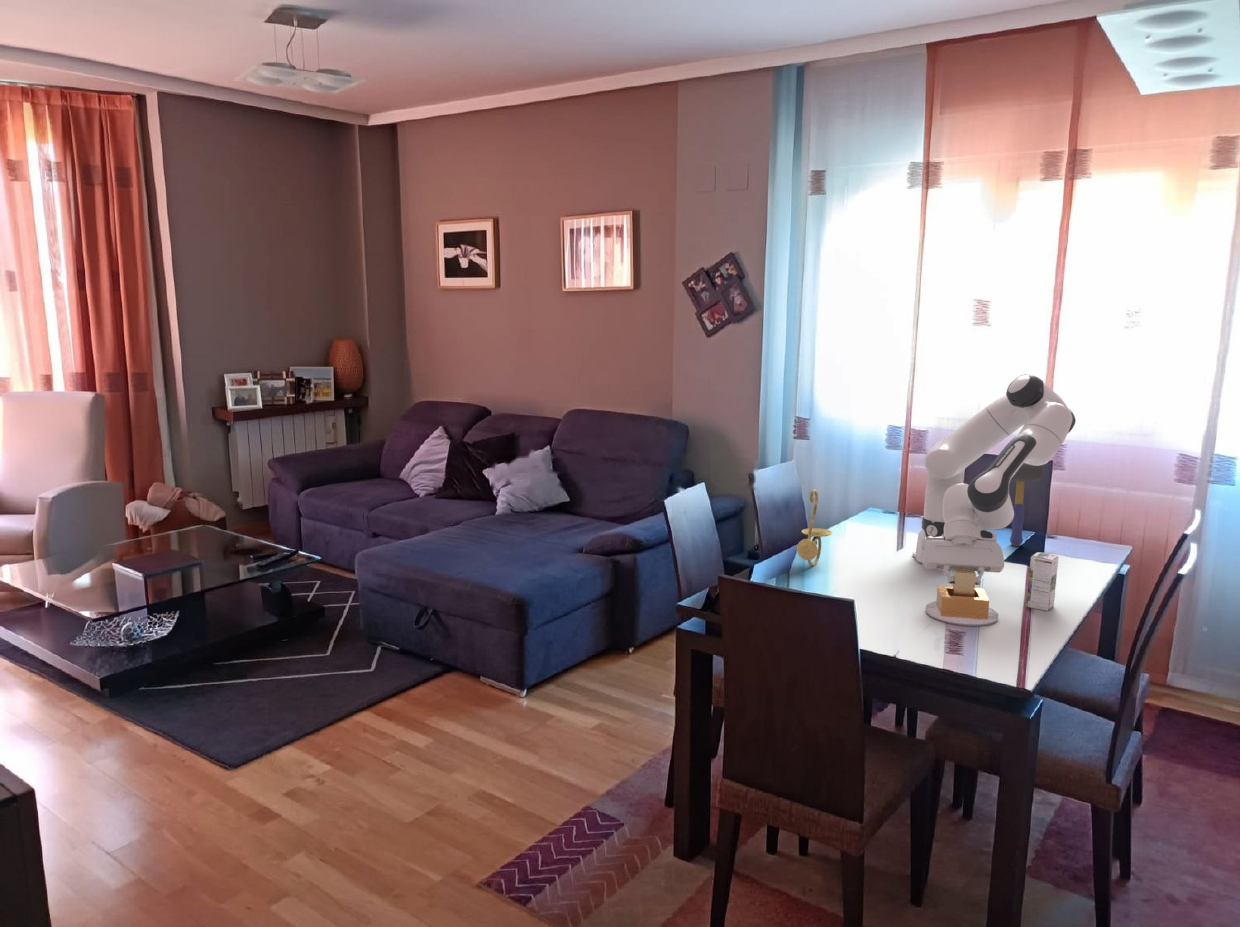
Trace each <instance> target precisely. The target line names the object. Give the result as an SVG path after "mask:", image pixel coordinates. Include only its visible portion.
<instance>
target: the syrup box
mask: <svg viewBox="0 0 1240 927" xmlns="http://www.w3.org/2000/svg"><path fill="white" fill-rule="evenodd" d="M1059 558H1060V556H1059V555H1057V554H1052V553H1047V552H1040V551H1039V552H1036V553H1034V554H1032V555H1031V556H1030V563H1029V571H1028V572H1029V575H1028V582H1027V583H1028V584H1027V592H1026V593H1027V594H1026V595H1027V596H1026V604H1025V605H1026V608H1030V609H1034V610H1035V609H1036V610H1040V611H1047V612H1048V611H1050V610H1051V609H1052V608H1053V607H1054V606H1055V596H1056V595H1055V594H1056V587H1057V578H1058V577H1057V575H1058V567H1059V565H1058V564H1059Z"/></svg>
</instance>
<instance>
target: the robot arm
mask: <svg viewBox="0 0 1240 927" xmlns="http://www.w3.org/2000/svg"><path fill="white" fill-rule="evenodd" d="M1005 393H1006V394H1004V395H1003V396H1001V397H999V398H997V399H996V400H994V401H993V402H991V403H990V404H988V405H987V406H985V407H984V408H983V409H981V410H980V411H979V412H977V413H976V414H975V415H973V416H972V417H971V418H969V419H968V420H967V421H965V422H964V423H962V424H961V425H960V426H959V427H958V428H956V429H955V430H953V431H952V432H951V433H950V434H948V435H947V436H946V437H944V438H943V439H941V440H939V441H937V442H936V443H934V445H932V447H930V449H928V451H927V453H926V455H925V457H924V468H926V472H927V478H926V485H925V493H924V506H923V507H924V508H923V516H922V519H921V529H922V530H920V531H919V532H918V534H917V541H916V548H915V551H914V552H912V554H911V555H912V557H913V558H915V561H917V562H918V563H919V564H922V566H923V567H924V568H925V569H928V570H929V569H931V570H942V573H943V574H944V576H945V578H946V579H947V583H948V584H951V585H953V584H954V582H955V579H954V575H953V574H951V573H950V571H954V569H966V570H974V571H975V572H976V574H977V576H976V580H975V586H980V585H981V582H982V581H981V579H982V577H983V576H984V574H985V573H997V574H998V573H1001V572H1002V571H1003V570H1004V568H1005V558H1004V554H1003V549H1002V547H1001V545H1000V543H998V534H997V533H995V532H993V531H998V530H1003V529H1005V528H1007V527H1008V526H1009V525H1011V524H1012V521H1013V519H1014V510H1013V507H1014V505H1013V502H1012V500H1011V495H1010V483H1011V481H1012V480H1011V478H1012V477H1013V476H1014V475H1015V473H1016V472H1017V471H1018V470H1019V468H1020V467H1021V466H1022V464H1023V463H1026V464H1029V465H1035V466H1038V465H1042V466H1043V465H1046V464H1048V462H1050V461H1052V459H1053V458H1054V457H1055V456H1056V455H1057V452H1059V450H1060V449H1061V447H1062V445H1063V443H1064V442H1065V440H1066V438H1067V436H1068V434H1069V433H1070V432H1071V431H1072V429H1074V426H1075V424H1076V417H1075V414H1074V412H1073V411H1072V409H1070V408H1069V407H1068V405H1067V404H1066V403H1065V401H1064V400H1063V399H1062V398H1061V395H1059V394H1058V393H1057V392H1055V391H1054V390H1053V389H1052V388H1051V387H1049V385H1047V384H1046V383H1045V382H1044V380H1043V379H1042V378H1040V377H1039V376H1037V375H1036V374H1033V373H1024V374H1022V375H1019V376H1017V377H1016V378H1014V380H1012V381H1011V382H1010V384H1009V385H1008V386H1007V388H1006V392H1005ZM1020 428H1021V429H1020ZM1019 429H1020V431H1019V432H1018V434H1017V435H1016V436H1014V437H1012V439H1011V440H1010V441H1009V442H1008V443H1007V444H1006V445H1005V446H1004V448H1003V449H1002V450H1001V451H1000V453H999V454H998V455H997V456H996V457H995V458H994V460H993V461H992V462H991V463H990V465H989V466H988V467H987V468H985V470H984V471H982V472H980V473H979V474H978V475H976V476H975V477H974V478H973V479H972V480H970V482H969V484H968V483H965V482H964V481H965V471H966V468H968V467H969V466H970V465H972V464H973V463H974V462H976V461H977V460H978V459H979V458H981V457H982V456H983V455H985V454H986V453H987V452H989V451H990V450H991V449H993V448H994V447H995V446H997V445H998V444H1000V443H1001V442H1003V441H1004V440H1005V439H1006V438H1008V437H1009V436H1011V435H1012V434H1014V433H1015V432H1016V431H1017V430H1019Z"/></svg>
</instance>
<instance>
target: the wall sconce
mask: <svg viewBox="0 0 1240 927" xmlns="http://www.w3.org/2000/svg"><path fill="white" fill-rule="evenodd" d="M809 502H810V503H812V504H814V505H813V510H812V515H811V518H810V522H809V528H804V529H802V530H801V533H802V534H803V535H805V536H807V538H803V539H802V540H800V541H799V542H798V543H797V545H796V552H797V555H798V556H799V557H800V558H801V559H802V560H804V561H807V562H808V565H809V567H810V566H811V567H814V566H816V565H817V564H818V561H819V559H820V557H821V551H822V537H828V536H831V535H832V534H833V531H831V530H830V529H827V528H819V527H818V528H816V527H813V526H814V521H815V517H816V515H817V514H816V513H817V509H818V503H819V493H818V490H816V489H812V490H811V491H810V493H809ZM812 560H814V561H813V562H812Z"/></svg>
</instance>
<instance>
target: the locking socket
mask: <svg viewBox="0 0 1240 927" xmlns="http://www.w3.org/2000/svg"><path fill="white" fill-rule="evenodd" d="M936 591H937V593H936V600H935V601H932V602H931V601H930V602H929V603H928V604H926V606H925V614H926V615H927V616H929V617H930V618H931V619H933V620H935V621H939V622H941V623H945V624H948V625H953V626H954V625H955V626H961V627H986V626H987V627H988V626H991V625H994V624H996V623H998V620H999V613H998V612H997V611H996V610H995V609H994V608H992V607H990V599H989V597H988V595H987V593H986V592H985V589H984V588H983V587H982V588H980V587H975V593H974V597H961V596H952V593H953V585H952V586H951V585H937V590H936Z"/></svg>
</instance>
